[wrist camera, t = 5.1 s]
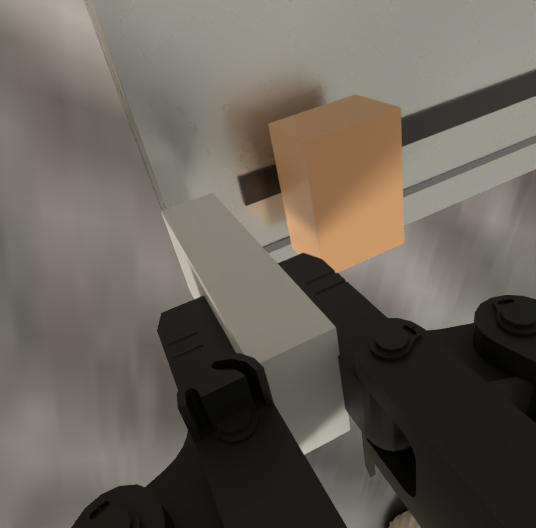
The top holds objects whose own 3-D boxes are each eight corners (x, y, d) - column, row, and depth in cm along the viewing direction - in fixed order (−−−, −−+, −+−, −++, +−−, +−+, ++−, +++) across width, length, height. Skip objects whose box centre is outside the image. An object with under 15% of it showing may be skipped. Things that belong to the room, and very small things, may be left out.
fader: (282, 238, 16) (323, 278, 14) (257, 118, 14) (303, 141, 11) (353, 210, 17) (404, 243, 15) (341, 90, 14) (400, 106, 12)
